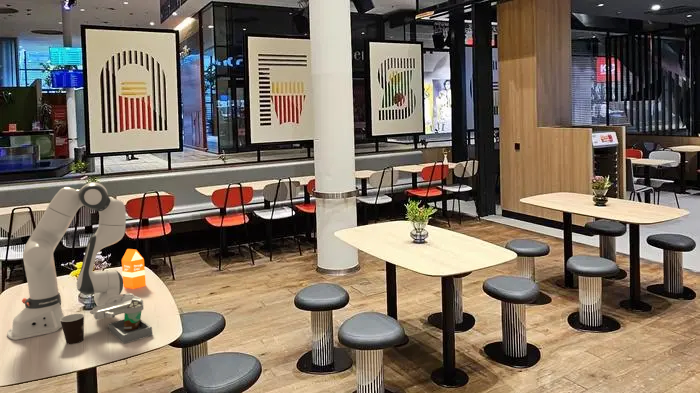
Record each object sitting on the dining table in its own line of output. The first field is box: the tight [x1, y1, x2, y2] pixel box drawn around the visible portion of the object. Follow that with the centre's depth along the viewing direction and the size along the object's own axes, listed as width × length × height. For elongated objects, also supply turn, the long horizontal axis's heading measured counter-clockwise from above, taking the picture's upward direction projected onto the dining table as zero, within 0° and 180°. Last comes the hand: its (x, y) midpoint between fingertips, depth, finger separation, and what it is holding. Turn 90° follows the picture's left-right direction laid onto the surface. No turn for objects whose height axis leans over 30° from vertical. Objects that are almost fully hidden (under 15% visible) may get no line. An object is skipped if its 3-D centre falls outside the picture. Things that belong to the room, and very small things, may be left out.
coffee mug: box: [60, 313, 85, 345], centre depth 226 cm, size 12×9×10 cm
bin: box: [107, 319, 153, 345], centre depth 231 cm, size 12×18×4 cm, turn 41°
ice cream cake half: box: [123, 300, 144, 331], centre depth 233 cm, size 12×6×10 cm, turn 8°
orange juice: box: [121, 248, 147, 290], centre depth 293 cm, size 8×9×20 cm
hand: (124, 312), depth 232 cm, fingers open, 8 cm apart
